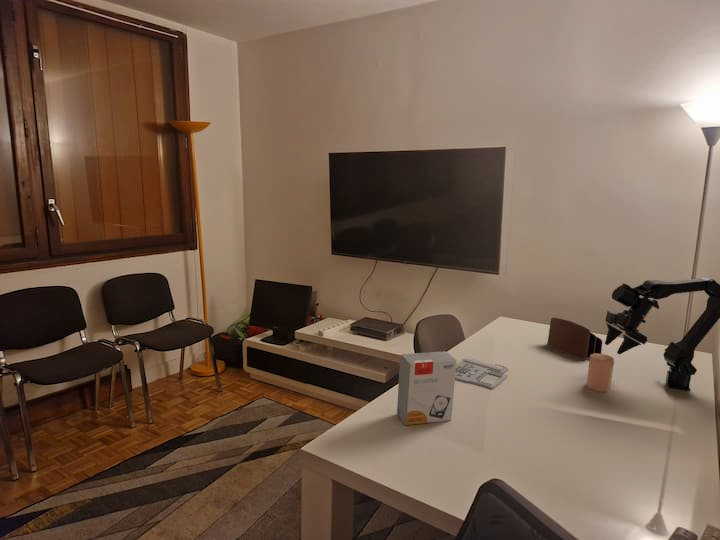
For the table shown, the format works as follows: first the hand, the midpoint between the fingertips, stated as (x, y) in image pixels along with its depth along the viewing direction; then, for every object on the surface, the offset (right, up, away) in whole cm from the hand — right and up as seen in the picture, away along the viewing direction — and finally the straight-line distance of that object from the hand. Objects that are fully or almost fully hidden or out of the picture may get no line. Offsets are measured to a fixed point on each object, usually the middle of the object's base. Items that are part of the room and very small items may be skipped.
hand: (611, 349), depth 172 cm
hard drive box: (-72, -17, -26) cm, 78 cm away
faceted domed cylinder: (-7, -14, -4) cm, 16 cm away
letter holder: (+2, -7, +35) cm, 36 cm away
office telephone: (-46, -11, +9) cm, 48 cm away
